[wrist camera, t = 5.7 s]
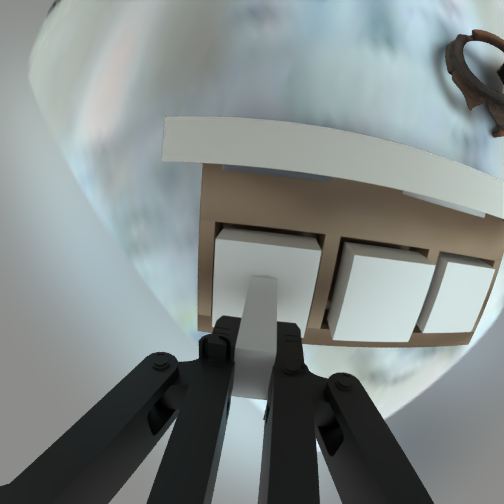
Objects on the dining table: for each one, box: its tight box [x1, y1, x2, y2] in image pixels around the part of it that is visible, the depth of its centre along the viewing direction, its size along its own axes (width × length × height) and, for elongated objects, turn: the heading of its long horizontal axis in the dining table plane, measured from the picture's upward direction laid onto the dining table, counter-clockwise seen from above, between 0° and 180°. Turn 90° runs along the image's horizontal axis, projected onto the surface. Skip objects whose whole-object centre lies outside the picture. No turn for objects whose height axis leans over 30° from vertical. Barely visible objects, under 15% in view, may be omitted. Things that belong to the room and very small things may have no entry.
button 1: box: [212, 227, 322, 338], centre depth 18 cm, size 6×6×3 cm
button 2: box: [416, 252, 495, 333], centre depth 18 cm, size 6×6×3 cm
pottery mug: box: [445, 30, 504, 138], centre depth 12 cm, size 12×10×8 cm
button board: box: [198, 163, 504, 347], centre depth 19 cm, size 15×25×4 cm, turn 85°
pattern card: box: [161, 116, 504, 222], centre depth 11 cm, size 2×22×10 cm, turn 85°
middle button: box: [327, 242, 436, 342], centre depth 17 cm, size 6×6×3 cm
